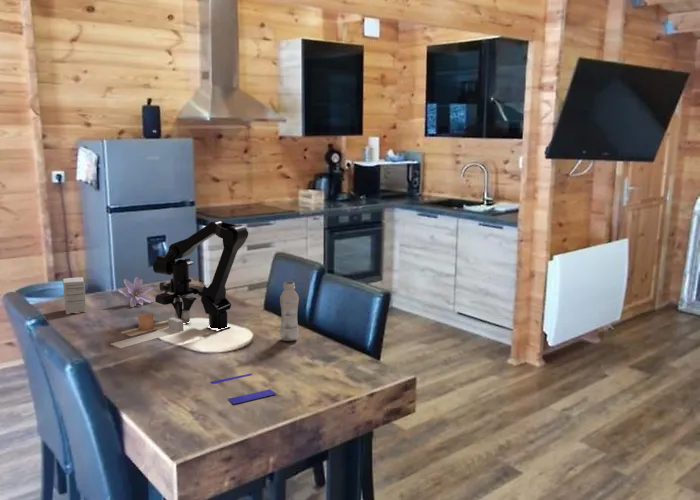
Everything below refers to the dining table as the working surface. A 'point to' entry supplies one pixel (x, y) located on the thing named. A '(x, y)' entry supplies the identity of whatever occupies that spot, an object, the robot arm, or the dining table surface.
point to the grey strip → (153, 333)
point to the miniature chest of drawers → (74, 294)
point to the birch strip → (160, 324)
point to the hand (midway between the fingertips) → (182, 317)
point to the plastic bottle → (289, 313)
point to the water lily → (136, 292)
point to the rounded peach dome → (145, 321)
